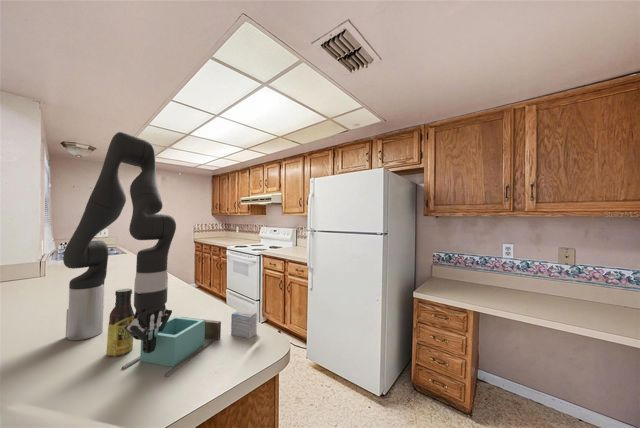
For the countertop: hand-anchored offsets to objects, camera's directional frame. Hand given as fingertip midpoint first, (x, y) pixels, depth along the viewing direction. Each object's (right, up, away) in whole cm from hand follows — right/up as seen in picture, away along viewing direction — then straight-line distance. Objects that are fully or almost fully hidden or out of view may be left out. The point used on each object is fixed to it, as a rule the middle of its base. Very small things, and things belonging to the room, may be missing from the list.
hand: (149, 351), depth 68 cm
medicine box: (+19, -7, +22) cm, 30 cm away
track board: (+2, -6, +9) cm, 11 cm away
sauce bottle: (-15, -6, +8) cm, 18 cm away
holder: (+2, -5, +8) cm, 10 cm away
